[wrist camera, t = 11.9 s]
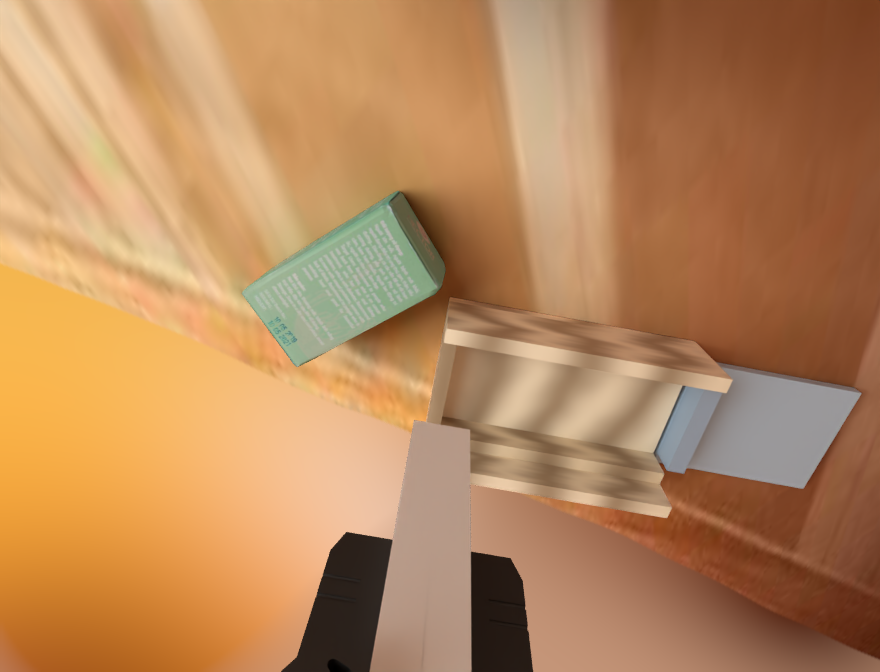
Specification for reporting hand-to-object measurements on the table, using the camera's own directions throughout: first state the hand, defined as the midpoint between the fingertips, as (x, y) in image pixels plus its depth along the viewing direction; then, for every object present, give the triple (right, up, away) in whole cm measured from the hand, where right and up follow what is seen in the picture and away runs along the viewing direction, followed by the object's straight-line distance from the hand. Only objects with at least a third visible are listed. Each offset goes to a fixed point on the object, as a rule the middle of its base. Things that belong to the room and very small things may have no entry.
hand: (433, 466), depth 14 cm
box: (-7, +10, +30) cm, 32 cm away
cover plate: (+29, -4, +34) cm, 45 cm away
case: (+11, -1, +33) cm, 35 cm away
